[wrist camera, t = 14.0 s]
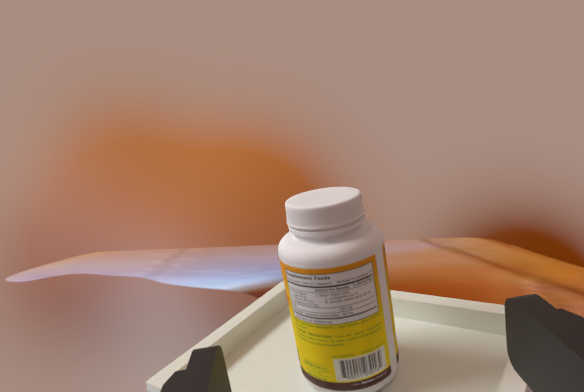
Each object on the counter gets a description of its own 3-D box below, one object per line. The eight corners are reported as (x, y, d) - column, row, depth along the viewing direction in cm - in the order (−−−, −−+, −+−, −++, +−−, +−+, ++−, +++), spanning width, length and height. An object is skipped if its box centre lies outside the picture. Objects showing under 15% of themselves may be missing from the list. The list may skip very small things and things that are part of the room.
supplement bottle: (338, 333, 28) (314, 181, 26) (418, 356, 24) (397, 182, 22) (281, 382, 24) (246, 209, 22) (366, 419, 21) (334, 215, 18)
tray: (154, 415, 25) (145, 381, 24) (293, 301, 35) (288, 276, 35) (497, 581, 14) (492, 526, 13) (545, 345, 25) (544, 310, 24)
